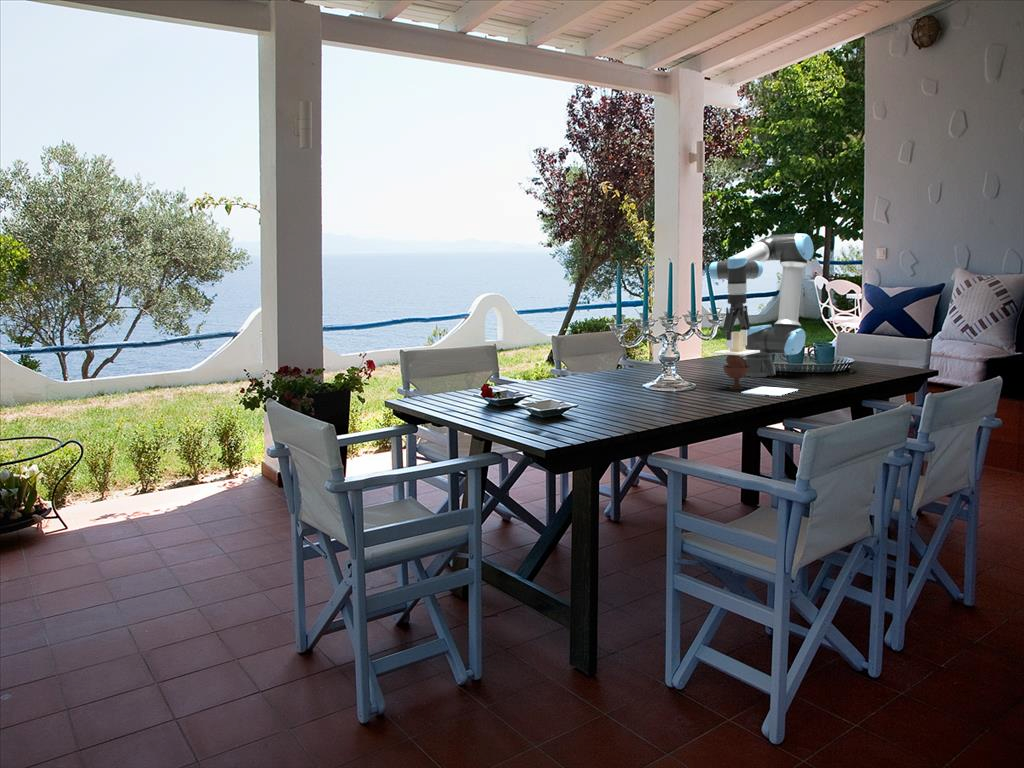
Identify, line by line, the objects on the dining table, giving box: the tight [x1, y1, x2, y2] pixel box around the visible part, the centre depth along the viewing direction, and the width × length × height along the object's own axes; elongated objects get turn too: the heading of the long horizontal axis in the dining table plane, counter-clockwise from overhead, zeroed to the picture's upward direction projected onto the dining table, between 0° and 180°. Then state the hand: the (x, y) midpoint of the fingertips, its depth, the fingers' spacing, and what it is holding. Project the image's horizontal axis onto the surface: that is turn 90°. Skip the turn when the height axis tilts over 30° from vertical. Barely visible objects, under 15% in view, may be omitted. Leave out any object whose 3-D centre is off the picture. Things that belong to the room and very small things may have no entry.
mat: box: [741, 386, 800, 397], centre depth 343 cm, size 18×16×1 cm
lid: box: [712, 331, 760, 356], centre depth 353 cm, size 14×14×9 cm
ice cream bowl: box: [722, 355, 750, 390], centre depth 355 cm, size 11×11×15 cm
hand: (736, 346), depth 353 cm, fingers open, 11 cm apart
